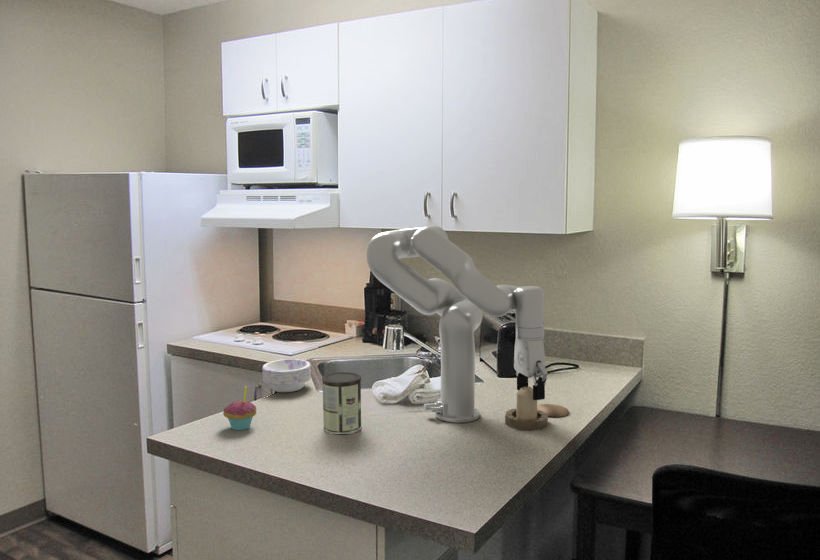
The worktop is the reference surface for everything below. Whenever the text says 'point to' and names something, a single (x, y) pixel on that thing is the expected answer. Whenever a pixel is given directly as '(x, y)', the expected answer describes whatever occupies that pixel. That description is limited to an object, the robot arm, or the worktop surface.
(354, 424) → the coffee can
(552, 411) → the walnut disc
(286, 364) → the paper bowls
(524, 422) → the ring
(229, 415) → the cupcake
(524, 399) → the candle
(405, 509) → the worktop surface
